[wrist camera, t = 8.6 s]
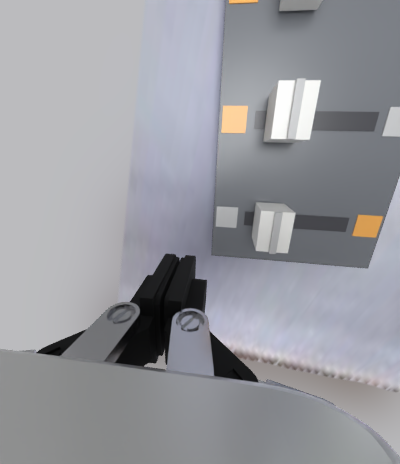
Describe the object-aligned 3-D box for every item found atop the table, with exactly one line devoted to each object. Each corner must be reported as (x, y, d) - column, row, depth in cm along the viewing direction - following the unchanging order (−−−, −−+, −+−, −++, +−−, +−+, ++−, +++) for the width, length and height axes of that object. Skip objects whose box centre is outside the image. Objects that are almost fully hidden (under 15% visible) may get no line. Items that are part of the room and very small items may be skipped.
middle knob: (302, 95, 19) (323, 78, 15) (294, 143, 20) (311, 139, 16) (269, 95, 19) (280, 78, 15) (263, 142, 21) (271, 138, 17)
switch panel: (458, -82, 17) (506, -132, 14) (353, 256, 27) (368, 268, 24) (231, -64, 19) (231, -105, 16) (213, 245, 29) (211, 255, 26)
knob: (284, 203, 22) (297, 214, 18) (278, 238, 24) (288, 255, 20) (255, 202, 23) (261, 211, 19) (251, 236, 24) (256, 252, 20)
